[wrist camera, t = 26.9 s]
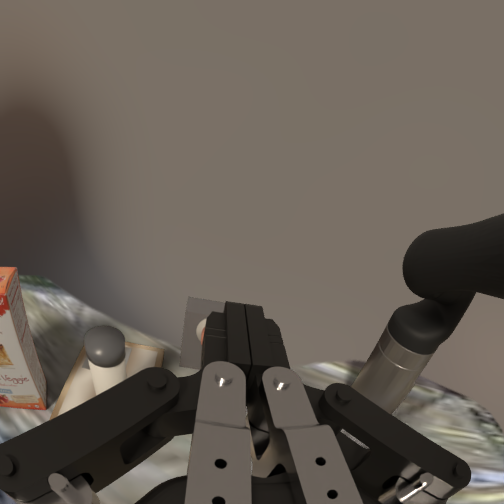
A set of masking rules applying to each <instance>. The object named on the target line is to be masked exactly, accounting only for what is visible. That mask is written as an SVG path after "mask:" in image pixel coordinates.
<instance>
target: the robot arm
mask: <svg viewBox="0 0 504 504" xmlns="http://www.w3.org/2000/svg"><path fill="white" fill-rule="evenodd" d="M403 277H404V280H405V282H406V285H407V286H408V287H409V289H410V290H411V291H412V292H413V293H414V294H416V295H418V296H419V297H422V298H425V299H424V300H422V301H420V302H418V303H414V304H410V305H405V306H402V307H399V308H398V309H396V311H395V312H394V313H393V315H392V317H391V318H390V320H389V322H388V324H387V326H386V328H385V330H384V332H383V333H382V335H381V337H380V339H379V341H378V343H377V344H376V346H375V348H374V350H373V351H372V353H371V355H370V357H369V358H368V360H367V362H366V363H365V365H364V367H363V368H362V370H361V372H360V373H359V375H358V376H357V378H356V380H355V381H354V383H353V384H352V386H351V387H350V386H348V385H345V384H342V383H334V384H331V385H329V386H328V387H327V388H326V390H325V391H324V390H320V389H316V388H312V387H309V386H306V385H304V384H303V383H302V381H301V379H300V377H299V376H298V375H297V374H296V373H295V372H294V371H292V370H290V366H289V362H288V359H287V355H286V351H285V347H284V345H283V340H282V338H281V332H280V328H279V327H278V326H277V324H276V323H275V322H274V321H273V320H272V319H265V317H264V313H263V308H262V306H256V305H249V304H241V303H235V302H228V301H226V303H225V306H224V311H223V313H221V312H214V311H212V312H211V313H210V315H209V316H208V317H207V319H206V325H205V330H204V336H203V342H202V351H201V366H200V371H199V372H197V373H196V374H194V375H191V376H186V377H178V378H177V377H176V376H175V375H174V374H173V373H172V372H171V371H169V370H167V369H164V368H160V367H149V368H145V369H143V370H141V371H139V372H138V373H136V374H134V375H132V376H131V377H129V378H127V379H125V380H124V381H122V382H120V383H118V384H116V385H115V386H113V387H111V388H109V389H108V390H106V391H104V392H102V393H100V394H98V395H97V396H95V397H93V398H91V399H89V400H87V401H86V402H84V403H82V404H80V405H78V406H76V407H74V408H72V409H70V410H69V411H67V412H65V413H63V414H61V415H59V416H57V417H55V418H53V419H51V420H49V421H47V422H45V423H43V424H41V425H39V426H37V427H35V428H33V429H31V430H29V431H27V432H25V433H23V434H21V435H19V436H16V437H14V438H12V439H10V440H8V441H6V442H4V443H1V444H0V489H1V490H2V491H4V492H5V493H6V494H7V495H8V496H9V497H10V498H12V499H13V500H14V501H15V502H16V503H17V504H100V500H99V498H98V496H97V494H96V493H97V492H99V491H100V490H102V489H103V488H105V487H106V486H108V485H109V484H111V483H112V482H114V481H115V480H117V479H118V478H120V477H121V476H123V475H124V474H126V473H127V472H129V471H130V470H131V469H133V468H134V467H136V466H137V465H138V464H140V463H141V462H143V461H144V460H145V459H147V458H148V457H149V456H151V455H152V454H153V453H155V452H156V451H157V450H159V449H160V448H161V447H163V446H164V445H165V444H167V443H168V442H169V441H171V440H172V439H173V438H174V436H179V435H186V434H192V433H193V434H192V441H191V448H190V455H189V462H188V469H187V475H186V476H181V477H176V478H173V479H170V480H167V481H165V482H163V483H161V484H159V485H158V486H156V487H155V488H153V489H152V490H151V491H149V492H148V493H147V494H146V495H145V496H143V497H142V498H141V499H140V500H139V501H137V502H136V503H135V504H446V502H447V500H448V498H449V497H451V496H452V495H454V494H455V493H457V492H458V491H460V490H461V489H463V488H464V487H466V486H467V485H468V484H469V482H470V480H471V470H470V468H469V466H468V464H467V463H466V462H465V461H464V460H462V459H460V458H459V457H457V456H455V455H454V454H452V453H450V452H449V451H447V450H446V449H444V448H442V447H441V446H439V445H437V444H436V443H434V442H433V441H431V440H429V439H428V438H426V437H425V436H423V435H421V434H420V433H418V432H417V431H415V430H414V429H412V428H411V427H409V426H408V425H406V424H404V423H403V422H401V421H400V420H398V419H397V418H395V417H394V416H392V415H391V414H392V413H393V412H394V411H395V410H396V408H397V407H398V406H399V405H400V403H401V402H402V401H403V400H404V398H405V397H406V396H407V395H408V393H409V392H410V391H411V389H412V388H413V387H414V385H415V383H416V381H415V380H416V379H417V378H418V376H419V375H420V373H421V372H422V371H423V369H424V368H425V366H426V365H427V363H428V362H429V360H430V359H431V357H432V356H433V354H434V353H435V351H436V350H437V348H438V346H439V345H440V344H441V343H443V342H444V341H445V340H446V339H448V337H449V336H450V335H451V334H452V333H453V331H454V330H455V328H456V326H457V325H458V323H459V322H460V320H461V318H462V317H463V315H464V313H465V312H466V310H467V308H468V307H469V305H470V303H471V301H472V300H473V298H474V296H475V294H476V292H479V293H483V294H486V295H490V296H494V297H498V298H501V299H504V214H501V215H498V216H495V217H491V218H489V219H486V220H483V221H480V222H476V223H473V224H468V225H463V226H457V227H449V228H441V229H434V230H429V231H426V232H424V233H422V234H421V235H419V236H418V237H417V238H416V239H415V240H414V241H413V242H412V244H411V245H410V246H409V248H408V250H407V252H406V254H405V257H404V261H403ZM246 406H247V411H248V414H247V416H246ZM342 429H344V430H345V431H347V432H348V433H350V434H351V435H352V436H354V437H355V438H357V439H358V440H359V441H361V442H362V443H364V444H365V445H366V446H368V447H369V448H370V449H365V448H363V447H361V446H360V445H358V444H357V443H355V442H354V441H353V440H351V439H350V438H348V437H347V436H346V435H344V434H343V433H342V432H340V431H341V430H342ZM251 458H252V465H253V467H252V475H251Z"/></svg>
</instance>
